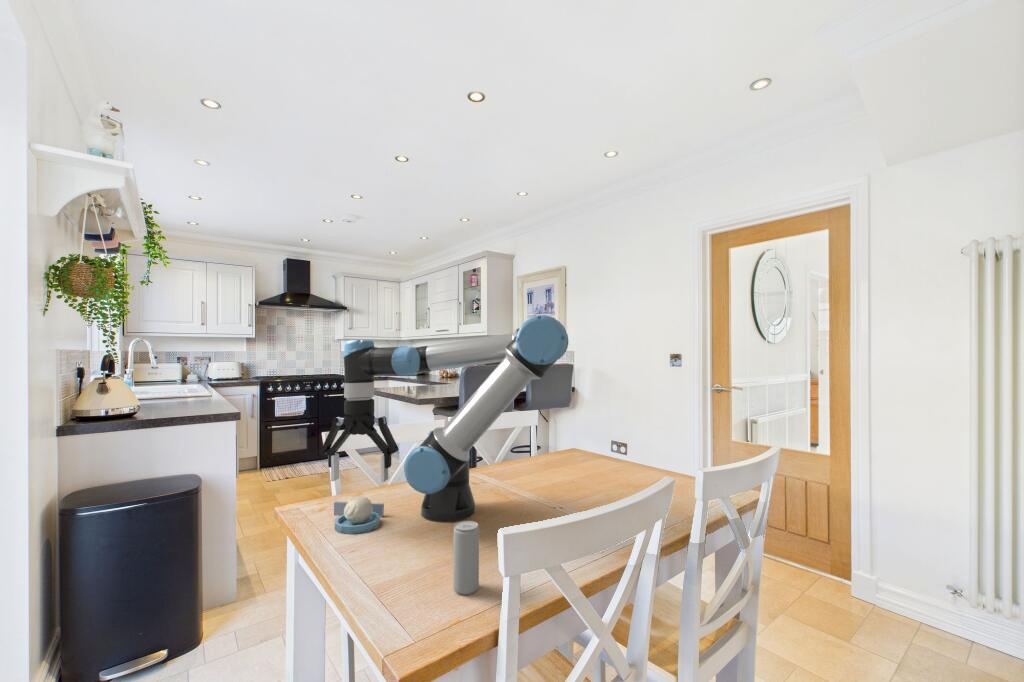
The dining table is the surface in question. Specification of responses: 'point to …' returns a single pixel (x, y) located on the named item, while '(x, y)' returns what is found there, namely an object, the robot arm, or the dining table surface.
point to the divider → (341, 505)
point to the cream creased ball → (358, 510)
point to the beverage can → (466, 557)
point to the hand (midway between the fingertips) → (359, 480)
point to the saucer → (349, 528)
